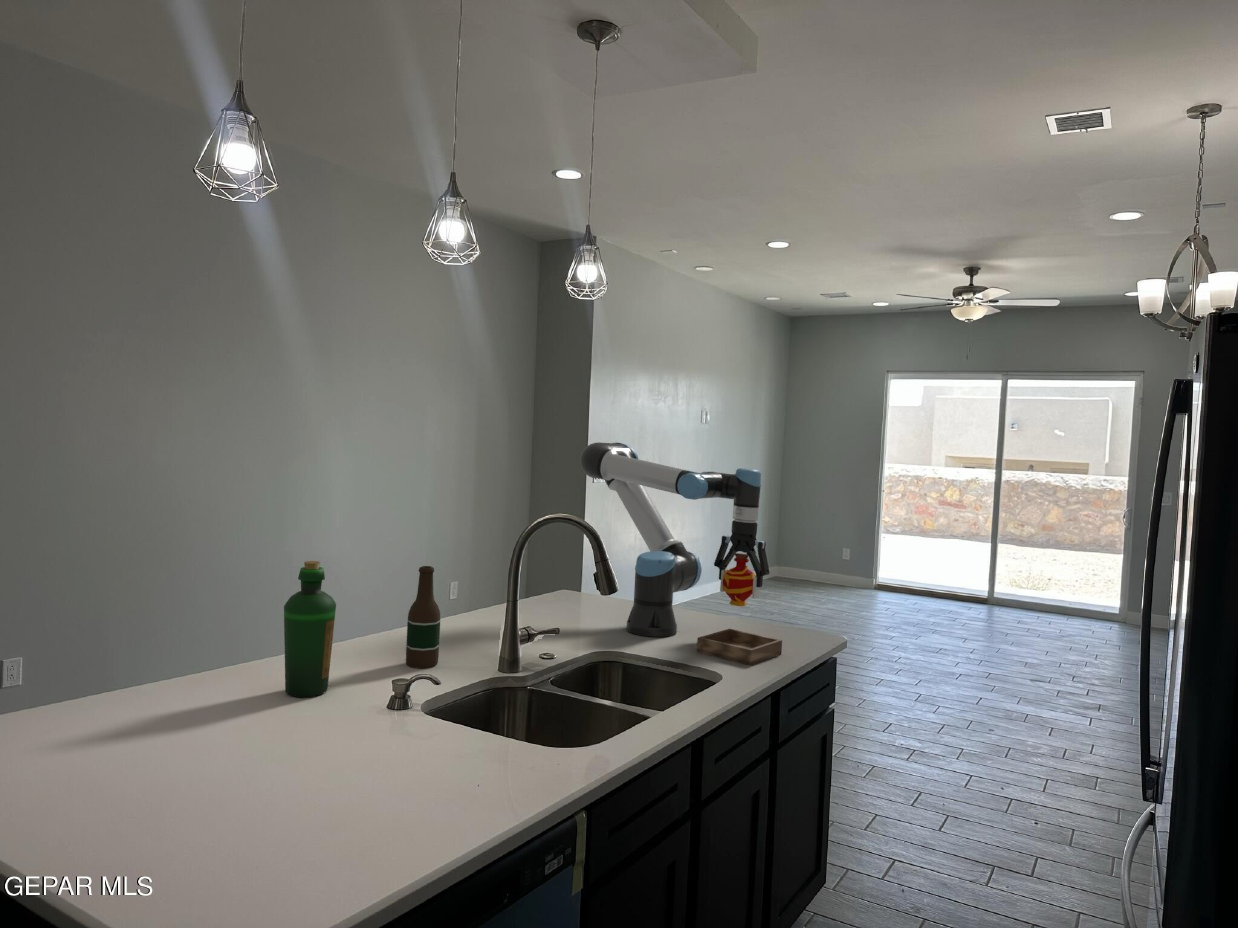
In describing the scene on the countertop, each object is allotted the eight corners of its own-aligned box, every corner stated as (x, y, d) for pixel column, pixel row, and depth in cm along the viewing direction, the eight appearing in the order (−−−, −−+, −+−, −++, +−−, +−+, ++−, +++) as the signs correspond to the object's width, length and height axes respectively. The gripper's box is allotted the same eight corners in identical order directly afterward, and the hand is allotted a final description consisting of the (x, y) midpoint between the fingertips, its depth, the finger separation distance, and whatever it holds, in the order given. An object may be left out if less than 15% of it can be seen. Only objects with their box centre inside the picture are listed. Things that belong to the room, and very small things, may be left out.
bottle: (343, 691, 185) (349, 562, 184) (302, 703, 176) (308, 568, 175) (310, 681, 191) (315, 556, 190) (268, 692, 182) (274, 561, 180)
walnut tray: (696, 651, 236) (697, 637, 236) (728, 642, 249) (729, 628, 249) (750, 665, 226) (751, 650, 225) (781, 654, 239) (782, 640, 239)
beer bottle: (421, 658, 214) (426, 562, 213) (444, 664, 210) (449, 567, 209) (398, 664, 208) (403, 566, 207) (422, 670, 204) (427, 570, 203)
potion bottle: (757, 609, 251) (761, 558, 250) (722, 606, 251) (726, 555, 250) (752, 601, 261) (756, 553, 261) (718, 599, 262) (722, 550, 261)
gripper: (705, 516, 259) (700, 588, 260) (773, 526, 245) (767, 603, 246) (718, 515, 265) (713, 586, 266) (785, 525, 251) (779, 599, 252)
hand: (739, 594), depth 256 cm, fingers closed on potion bottle, 10 cm apart
